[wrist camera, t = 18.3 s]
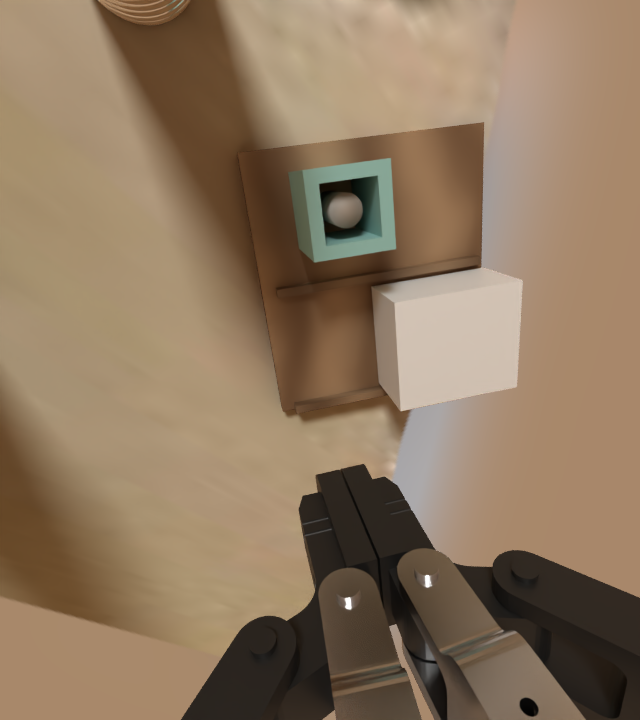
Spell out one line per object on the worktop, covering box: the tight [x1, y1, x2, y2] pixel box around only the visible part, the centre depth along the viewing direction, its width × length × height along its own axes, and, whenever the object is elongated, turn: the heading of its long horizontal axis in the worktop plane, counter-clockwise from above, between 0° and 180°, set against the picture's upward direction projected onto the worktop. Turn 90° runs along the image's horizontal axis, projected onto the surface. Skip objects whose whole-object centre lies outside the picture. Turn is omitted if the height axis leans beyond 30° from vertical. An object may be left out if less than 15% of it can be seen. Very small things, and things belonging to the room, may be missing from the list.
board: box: [237, 122, 484, 413], centre depth 32 cm, size 17×19×6 cm
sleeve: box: [288, 158, 396, 263], centre depth 28 cm, size 5×5×6 cm
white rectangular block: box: [371, 268, 523, 411], centre depth 33 cm, size 9×8×5 cm
